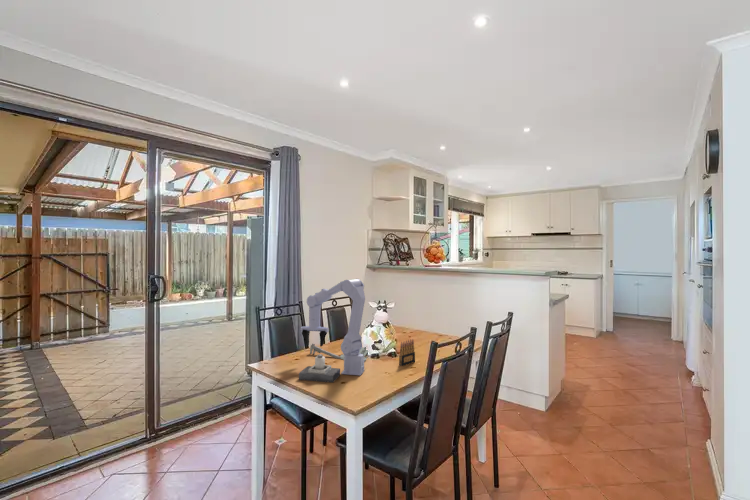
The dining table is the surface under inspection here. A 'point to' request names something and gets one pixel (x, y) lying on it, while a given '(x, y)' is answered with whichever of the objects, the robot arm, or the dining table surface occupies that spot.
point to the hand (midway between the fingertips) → (314, 345)
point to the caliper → (322, 351)
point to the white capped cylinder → (320, 362)
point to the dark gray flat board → (319, 374)
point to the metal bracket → (362, 351)
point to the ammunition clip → (407, 353)
